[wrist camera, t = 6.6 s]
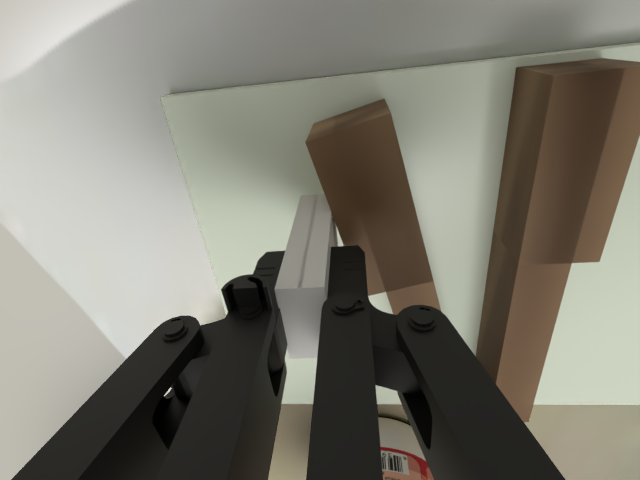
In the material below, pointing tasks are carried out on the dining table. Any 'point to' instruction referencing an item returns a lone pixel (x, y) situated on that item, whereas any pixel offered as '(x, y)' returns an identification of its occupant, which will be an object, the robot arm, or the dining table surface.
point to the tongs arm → (374, 201)
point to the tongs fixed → (552, 206)
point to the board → (429, 200)
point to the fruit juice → (401, 452)
